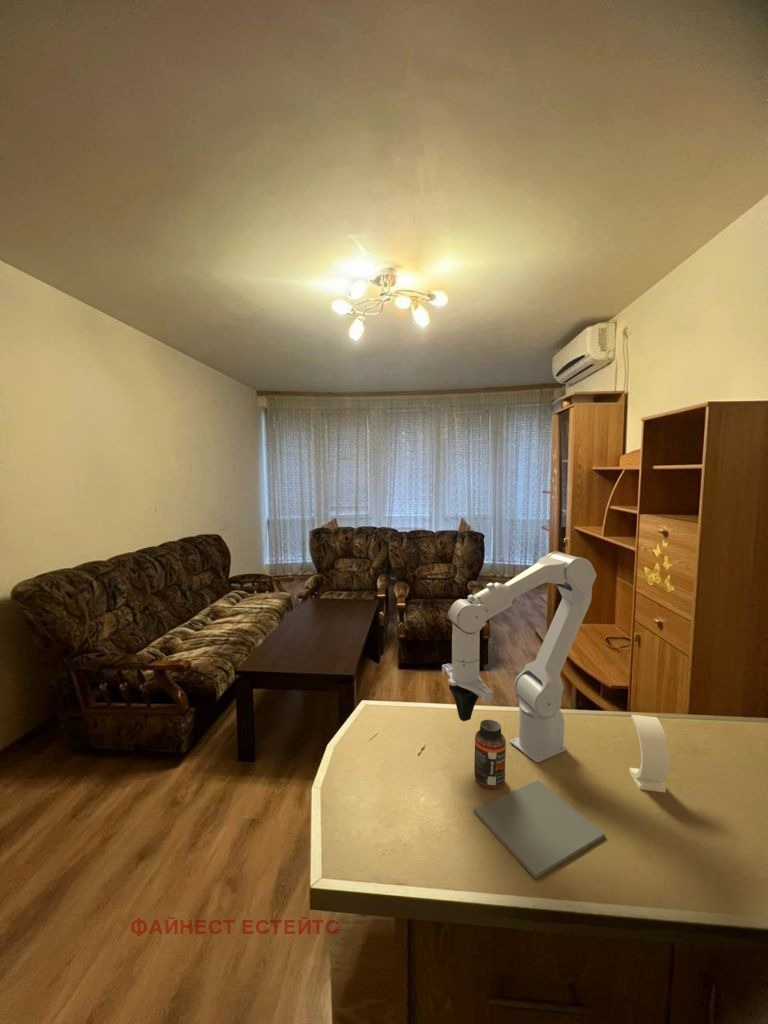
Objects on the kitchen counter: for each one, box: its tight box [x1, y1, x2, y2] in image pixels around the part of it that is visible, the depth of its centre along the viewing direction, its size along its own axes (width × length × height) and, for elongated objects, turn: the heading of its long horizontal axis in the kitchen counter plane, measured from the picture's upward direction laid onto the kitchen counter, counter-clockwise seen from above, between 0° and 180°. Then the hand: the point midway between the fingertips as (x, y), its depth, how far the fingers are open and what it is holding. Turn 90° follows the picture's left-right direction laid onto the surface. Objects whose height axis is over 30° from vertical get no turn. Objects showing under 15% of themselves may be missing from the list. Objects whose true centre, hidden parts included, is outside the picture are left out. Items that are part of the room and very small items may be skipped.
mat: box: [473, 779, 606, 880], centre depth 70 cm, size 16×14×1 cm
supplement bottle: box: [473, 719, 507, 790], centre depth 81 cm, size 6×6×11 cm
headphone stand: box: [629, 714, 671, 793], centre depth 79 cm, size 5×6×12 cm
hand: (465, 718), depth 87 cm, fingers closed
